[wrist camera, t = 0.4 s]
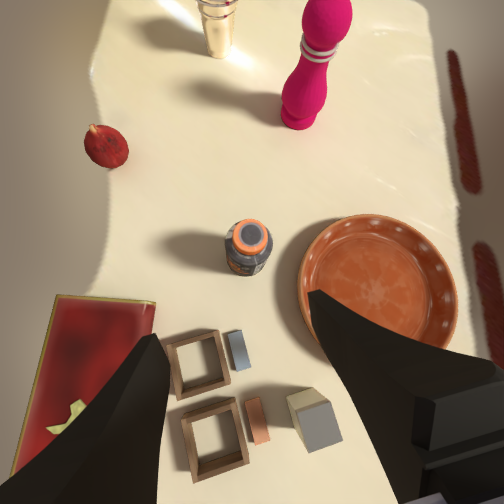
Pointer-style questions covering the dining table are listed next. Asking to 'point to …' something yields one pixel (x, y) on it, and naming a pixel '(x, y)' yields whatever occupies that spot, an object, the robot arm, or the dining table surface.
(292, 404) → the plug
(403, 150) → the dining table surface
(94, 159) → the onion
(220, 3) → the cup with straw
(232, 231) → the pill bottle
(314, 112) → the pepper mill
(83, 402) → the hardcover book
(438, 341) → the saucer
